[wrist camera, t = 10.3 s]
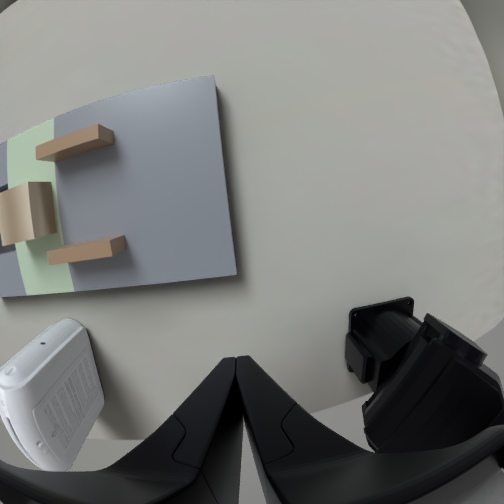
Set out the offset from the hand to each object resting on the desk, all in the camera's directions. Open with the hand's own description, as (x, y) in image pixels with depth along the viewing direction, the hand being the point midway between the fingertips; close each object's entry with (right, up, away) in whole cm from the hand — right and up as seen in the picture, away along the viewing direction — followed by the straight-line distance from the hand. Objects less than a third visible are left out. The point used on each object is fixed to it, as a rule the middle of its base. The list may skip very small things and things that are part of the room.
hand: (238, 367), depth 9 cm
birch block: (-17, +7, +9) cm, 20 cm away
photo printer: (-16, -7, +14) cm, 23 cm away
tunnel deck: (-14, +8, +11) cm, 20 cm away
